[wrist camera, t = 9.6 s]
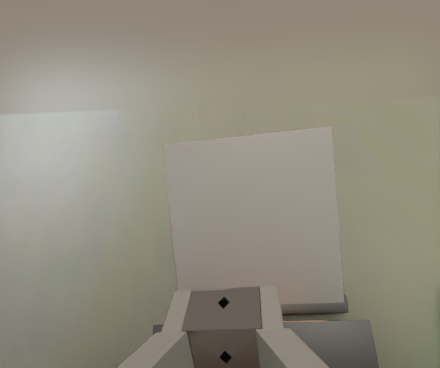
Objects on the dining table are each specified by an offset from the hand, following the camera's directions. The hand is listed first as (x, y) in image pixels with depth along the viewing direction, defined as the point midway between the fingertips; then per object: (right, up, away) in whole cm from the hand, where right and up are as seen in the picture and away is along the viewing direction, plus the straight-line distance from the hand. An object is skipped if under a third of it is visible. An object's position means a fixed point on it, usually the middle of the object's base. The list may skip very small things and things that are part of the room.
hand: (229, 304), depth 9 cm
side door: (+3, -6, +14) cm, 15 cm away
